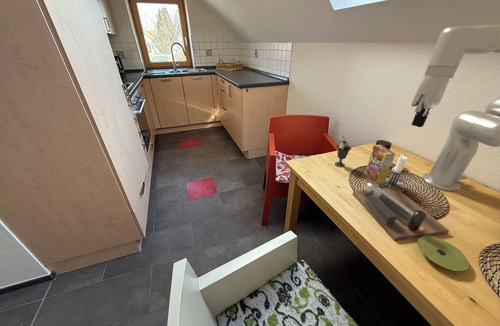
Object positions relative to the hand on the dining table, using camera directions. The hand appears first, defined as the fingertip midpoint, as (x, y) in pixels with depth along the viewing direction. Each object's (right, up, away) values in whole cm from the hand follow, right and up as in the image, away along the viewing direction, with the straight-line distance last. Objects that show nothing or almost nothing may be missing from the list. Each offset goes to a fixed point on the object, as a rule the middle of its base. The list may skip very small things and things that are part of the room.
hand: (417, 125), depth 75 cm
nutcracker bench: (-9, -32, -1) cm, 33 cm away
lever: (-12, -30, -2) cm, 33 cm away
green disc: (-7, -41, -16) cm, 45 cm away
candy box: (-5, -21, +18) cm, 28 cm away
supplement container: (+5, -13, +32) cm, 35 cm away
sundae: (-16, -15, +29) cm, 36 cm away
